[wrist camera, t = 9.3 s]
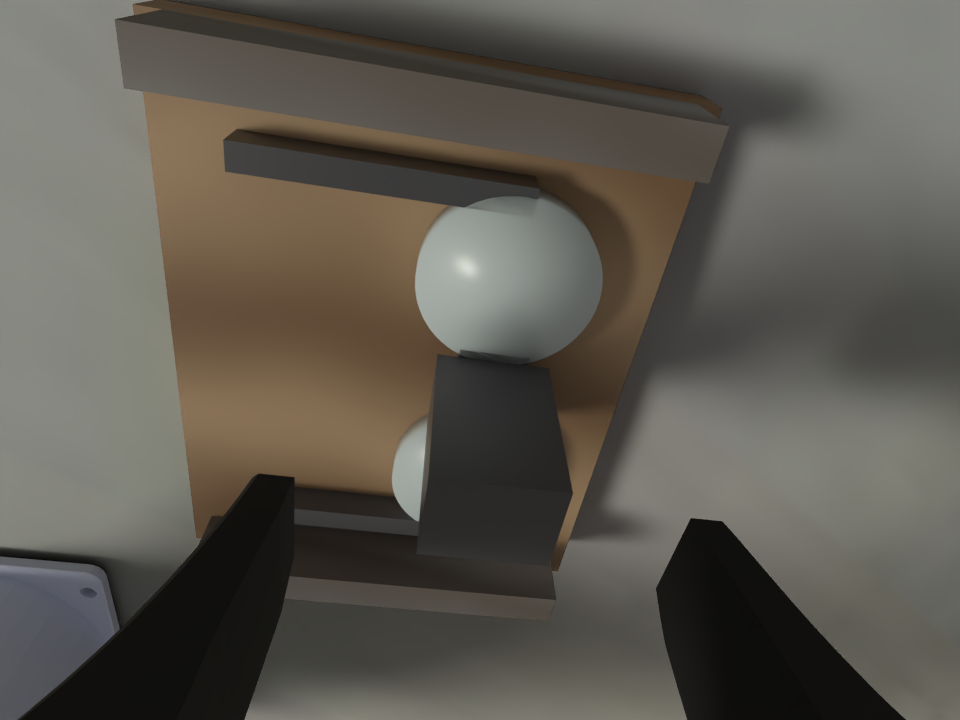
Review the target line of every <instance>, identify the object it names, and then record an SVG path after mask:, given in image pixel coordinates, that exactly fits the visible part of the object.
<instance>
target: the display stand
mask: <svg viewBox="0 0 960 720" xmlns="http://www.w3.org/2000/svg"><path fill="white" fill-rule="evenodd" d="M133 11H134V15H133V16H128V17H124V18H119V19H115V24H116V32H117V39H118V47H119V54H120V61H121V69H122V76H123V84H124V88H126V89H132V90H138V91H143V94H144V103H145V111H146V119H147V128H148V136H149V145H150V153H151V161H152V170H153V178H154V186H155V195H156V203H157V211H158V220H159V228H160V237H161V245H162V253H163V262H164V270H165V278H166V287H167V295H168V303H169V312H170V320H171V329H172V337H173V345H174V354H175V362H176V370H177V379H178V387H179V395H180V404H181V412H182V421H183V429H184V437H185V446H186V454H187V462H188V471H189V479H190V487H191V496H192V504H193V513H194V521H195V529H196V538H201V541H200V543H201V542H202V541H203V540H204V539H205V538H206V537H207V535H208V534H209V533H210V532H211V530H212V529H213V528H214V527H215V526H216V524H217V523H218V522H219V521H220V520H221V518H222V517H223V516H224V515H225V513H226V512H227V511H228V510H229V508H230V507H231V506H232V504H233V503H234V502H235V500H236V499H237V498H238V496H239V495H240V494H241V492H242V491H243V490H244V488H245V487H246V486H247V484H248V483H249V481H250V480H251V479H252V477H254V476H255V475H257V474H259V473H260V474H269V475H279V476H288V477H295V487H300V488H310V489H320V490H330V491H340V492H349V493H359V494H369V495H379V496H389V497H395V494H394V491H393V487H392V473H393V465H394V458H395V452H396V448H397V445H398V442H399V440H400V438H401V437H402V435H403V434H404V432H405V431H406V430H407V429H408V428H409V427H410V426H411V425H412V424H413V423H414V422H415V421H417V420H418V419H420V418H421V417H422V416H424V415H426V414H428V413H429V407H430V400H431V394H432V387H433V380H434V373H435V367H436V360H437V354H440V355H448V356H457V353H456V352H455V351H453V350H451V349H450V348H449V347H447V346H446V345H445V344H443V343H442V342H441V341H440V340H439V339H438V338H437V337H436V336H435V335H434V334H433V332H432V331H431V330H430V328H429V327H428V326H427V324H426V322H425V320H424V319H423V317H422V314H421V312H420V309H419V307H418V303H417V299H416V292H415V274H416V268H417V261H418V256H419V251H420V247H421V244H422V241H423V238H424V236H425V234H426V232H427V230H428V228H429V226H430V225H431V224H432V222H433V221H434V219H435V218H436V217H437V216H438V215H439V214H440V212H441V211H442V210H443V209H444V208H446V207H447V206H448V205H443V204H436V203H430V202H423V201H416V200H410V199H403V198H396V197H390V196H383V195H377V194H370V193H363V192H357V191H350V190H343V189H337V188H330V187H323V186H317V185H310V184H303V183H297V182H290V181H283V180H277V179H270V178H264V177H257V176H250V175H244V174H237V173H230V172H225V164H224V147H223V139H225V138H226V137H227V136H228V135H230V134H231V133H232V132H233V131H235V130H236V129H239V130H245V131H251V132H258V133H264V134H270V135H277V136H283V137H289V138H296V139H302V140H308V141H315V142H321V143H327V144H334V145H340V146H347V147H353V148H359V149H366V150H372V151H378V152H385V153H391V154H397V155H404V156H410V157H416V158H423V159H429V160H435V161H442V162H448V163H455V164H461V165H467V166H474V167H480V168H486V169H493V170H499V171H505V172H512V173H518V174H524V175H531V176H536V178H537V181H538V184H539V188H541V189H543V190H546V191H549V192H550V193H552V194H554V195H556V196H558V197H560V198H561V199H562V200H564V201H565V202H566V203H568V204H569V205H570V206H571V207H572V208H573V209H574V210H575V211H576V212H577V213H578V214H579V215H580V217H581V218H582V219H583V221H584V222H585V224H586V226H587V228H588V229H589V231H590V234H591V236H592V238H593V241H594V243H595V245H596V248H597V250H598V253H599V256H600V260H601V264H602V273H603V284H602V292H601V296H600V301H599V303H598V306H597V309H596V311H595V313H594V315H593V317H592V319H591V320H590V322H589V323H588V325H587V326H586V327H585V329H584V330H583V331H582V332H581V333H580V334H579V335H578V337H577V338H576V339H574V340H573V341H572V342H571V343H570V344H568V345H567V346H566V347H564V348H563V349H561V350H560V351H558V352H556V353H554V354H552V355H550V356H548V357H546V358H543V359H541V360H538V361H534V362H531V363H528V366H535V367H543V368H549V371H550V377H551V382H552V387H553V392H554V397H555V402H556V408H557V413H558V418H559V423H560V428H561V434H562V439H563V444H564V449H565V454H566V459H567V465H568V470H569V475H570V480H571V485H572V490H573V496H572V498H571V501H570V504H569V507H568V510H567V513H566V516H565V519H564V522H563V525H562V528H561V531H560V534H559V537H558V540H557V543H556V546H555V549H554V552H553V555H552V558H551V561H550V564H549V566H541V565H530V564H519V563H508V562H498V561H487V560H476V559H465V558H455V557H444V556H433V555H422V554H416V552H417V540H418V536H413V535H402V534H392V533H381V532H371V531H361V530H350V529H340V528H329V527H319V526H308V525H298V524H294V559H293V563H292V567H291V572H290V576H289V581H288V585H287V590H286V594H285V598H284V599H292V600H303V601H315V602H327V603H338V604H350V605H362V606H373V607H385V608H397V609H409V610H420V611H432V612H444V613H455V614H467V615H479V616H490V617H502V618H514V619H526V620H537V621H549V618H550V615H551V612H552V610H553V607H554V604H555V601H556V596H555V589H554V581H553V574H552V571H557V572H558V569H559V566H560V563H561V560H562V558H563V555H564V552H565V549H566V546H567V543H568V541H569V538H570V535H571V532H572V529H573V527H574V524H575V521H576V518H577V515H578V512H579V510H580V507H581V504H582V501H583V498H584V496H585V493H586V490H587V487H588V484H589V481H590V479H591V476H592V473H593V470H594V467H595V465H596V462H597V459H598V456H599V453H600V450H601V448H602V445H603V442H604V439H605V436H606V434H607V431H608V428H609V425H610V422H611V420H612V417H613V414H614V411H615V408H616V405H617V403H618V400H619V397H620V394H621V391H622V389H623V386H624V383H625V380H626V377H627V374H628V372H629V369H630V366H631V363H632V360H633V358H634V355H635V352H636V349H637V346H638V343H639V341H640V338H641V335H642V332H643V329H644V327H645V324H646V321H647V318H648V315H649V313H650V310H651V307H652V304H653V301H654V298H655V296H656V293H657V290H658V287H659V284H660V282H661V279H662V276H663V273H664V270H665V267H666V265H667V262H668V259H669V256H670V253H671V251H672V248H673V245H674V242H675V239H676V236H677V234H678V231H679V228H680V225H681V222H682V220H683V217H684V214H685V211H686V208H687V205H688V203H689V200H690V197H691V194H692V191H693V189H694V186H695V183H696V182H701V183H707V184H709V182H710V179H711V176H712V174H713V171H714V168H715V166H716V163H717V160H718V157H719V155H720V152H721V149H722V146H723V144H724V141H725V138H726V136H727V133H728V130H729V127H730V126H728V125H727V124H726V123H724V122H723V121H721V120H720V119H718V118H719V115H720V113H721V110H722V108H720V107H719V106H717V105H716V104H714V103H713V102H711V101H710V100H708V99H706V98H705V97H703V96H699V95H694V94H688V93H683V92H677V91H671V90H666V89H660V88H655V87H649V86H643V85H638V84H632V83H627V82H621V81H615V80H610V79H604V78H599V77H593V76H587V75H582V74H576V73H571V72H565V71H559V70H554V69H548V68H543V67H537V66H531V65H526V64H520V63H515V62H509V61H503V60H498V59H492V58H487V57H481V56H475V55H470V54H464V53H459V52H453V51H447V50H442V49H436V48H431V47H425V46H419V45H414V44H408V43H403V42H397V41H391V40H386V39H380V38H375V37H369V36H363V35H358V34H352V33H347V32H341V31H335V30H330V29H324V28H319V27H313V26H307V25H302V24H296V23H291V22H285V21H279V20H274V19H268V18H263V17H257V16H251V15H246V14H240V13H235V12H229V11H223V10H218V9H212V8H207V7H201V6H195V5H190V4H184V3H179V2H173V1H167V0H153V1H148V2H142V3H136V4H133ZM200 543H199V545H200ZM199 545H198V546H199Z"/></svg>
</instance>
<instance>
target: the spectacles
mask: <svg viewBox="0 0 960 720" xmlns="http://www.w3.org/2000/svg"><path fill="white" fill-rule="evenodd" d="M223 147H224V164H225V172H230V173H237V174H244V175H250V176H257V177H264V178H270V179H277V180H283V181H290V182H297V183H303V184H310V185H317V186H323V187H330V188H337V189H343V190H350V191H357V192H363V193H370V194H377V195H383V196H390V197H396V198H403V199H410V200H416V201H423V202H430V203H436V204H443V205H448V206H447V207H446V208H444V209H443V210H442V211H441V212H440V214H439V215H438V216H437V217H436V218H435V219H434V221H433V222H432V224H431V225H430V226H429V228H428V230H427V232H426V234H425V236H424V238H423V241H422V244H421V247H420V251H419V256H418V261H417V268H416V274H415V292H416V299H417V303H418V307H419V309H420V312H421V314H422V317H423V319H424V320H425V322H426V324H427V326H428V327H429V328H430V330H431V331H432V332H433V334H434V335H435V336H436V337H437V338H438V339H439V340H440V341H441V342H442V343H443V344H445V345H446V346H447V347H449V348H450V349H451V350H453V351H455V352H456V353H457V356H448V355H440V354H437V360H436V367H435V373H434V380H433V387H432V394H431V400H430V407H429V413H428V414H426V415H424V416H422V417H421V418H420V419H418V420H417V421H415V422H414V423H413V424H412V425H411V426H410V427H409V428H408V429H407V430H406V431H405V432H404V434H403V435H402V437H401V438H400V440H399V442H398V445H397V448H396V452H395V458H394V465H393V473H392V487H393V491H394V494H395V497H389V496H379V495H369V494H359V493H349V492H340V491H330V490H320V489H310V488H300V487H295V495H294V524H298V525H308V526H319V527H329V528H340V529H350V530H361V531H371V532H381V533H392V534H402V535H413V536H418V540H417V552H416V554H422V555H433V556H444V557H455V558H465V559H476V560H487V561H498V562H508V563H519V564H530V565H541V566H549V564H550V561H551V558H552V555H553V552H554V549H555V546H556V543H557V540H558V537H559V534H560V531H561V528H562V525H563V522H564V519H565V516H566V513H567V510H568V507H569V504H570V501H571V498H572V496H573V490H572V485H571V480H570V475H569V470H568V465H567V459H566V454H565V449H564V444H563V439H562V434H561V428H560V423H559V418H558V413H557V408H556V402H555V397H554V392H553V387H552V382H551V377H550V371H549V368H543V367H535V366H528V363H531V362H534V361H538V360H541V359H543V358H546V357H548V356H550V355H552V354H554V353H556V352H558V351H560V350H561V349H563V348H564V347H566V346H567V345H568V344H570V343H571V342H572V341H573V340H574V339H576V338H577V337H578V335H579V334H580V333H581V332H582V331H583V330H584V329H585V327H586V326H587V325H588V323H589V322H590V320H591V319H592V317H593V315H594V313H595V311H596V309H597V306H598V303H599V301H600V296H601V292H602V284H603V273H602V264H601V260H600V256H599V253H598V250H597V248H596V245H595V243H594V241H593V238H592V236H591V234H590V231H589V229H588V228H587V226H586V224H585V222H584V221H583V219H582V218H581V217H580V215H579V214H578V213H577V212H576V211H575V210H574V209H573V208H572V207H571V206H570V205H569V204H568V203H566V202H565V201H564V200H562V199H561V198H560V197H558V196H556V195H554V194H552V193H550V192H549V191H546V190H543V189H541V188H539V184H538V181H537V178H536V176H531V175H524V174H518V173H512V172H505V171H499V170H493V169H486V168H480V167H474V166H467V165H461V164H455V163H448V162H442V161H435V160H429V159H423V158H416V157H410V156H404V155H397V154H391V153H385V152H378V151H372V150H366V149H359V148H353V147H347V146H340V145H334V144H327V143H321V142H315V141H308V140H302V139H296V138H289V137H283V136H277V135H270V134H264V133H258V132H251V131H245V130H239V129H236V130H235V131H233V132H232V133H231V134H230V135H228V136H227V137H226V138H225V139H223Z"/></svg>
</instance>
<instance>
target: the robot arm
mask: <svg viewBox="0 0 960 720" xmlns="http://www.w3.org/2000/svg"><path fill="white" fill-rule="evenodd" d="M294 495H295V477H288V476H279V475H269V474H260V473H259V474H257V475H255V476H254V477H252V479H251V480H250V481H249V483H248V484H247V486H246V487H245V488H244V490H243V491H242V492H241V494H240V495H239V496H238V498H237V499H236V500H235V502H234V503H233V504H232V506H231V507H230V508H229V510H228V511H227V512H226V513H225V515H224V516H223V517H222V518H221V520H220V521H219V522H218V523H217V524H216V526H215V527H214V528H213V529H212V530H211V532H210V533H209V534H208V535H207V537H206V538H205V539H204V540H203V541H202V542H201V543H200V545H199V546H198V547H197V548H196V549H195V550H194V551H193V553H192V554H191V555H190V556H189V557H188V558H187V559H186V560H185V562H184V563H183V564H182V565H181V566H180V567H179V568H178V570H177V571H176V572H175V573H174V574H173V575H172V576H171V577H170V578H169V579H168V581H167V582H166V583H165V584H164V585H163V586H162V587H161V588H160V589H159V590H158V591H157V592H156V593H155V594H154V595H153V596H152V597H151V598H150V599H149V600H148V601H147V602H146V603H145V604H144V605H143V606H142V607H141V608H140V609H139V610H138V611H137V613H136V614H135V615H134V616H133V617H132V618H131V619H130V620H129V621H128V622H127V623H126V624H125V625H124V626H123V627H121V628H119V624H118V620H117V615H116V611H115V607H114V603H113V599H112V595H111V591H110V587H109V583H108V579H107V575H106V573H105V572H104V571H103V570H102V569H101V568H100V567H97V566H95V565H90V564H80V563H69V562H58V561H46V560H35V559H24V558H12V557H1V556H0V720H244V719H245V716H246V713H247V710H248V707H249V704H250V702H251V699H252V696H253V693H254V690H255V687H256V684H257V681H258V678H259V676H260V673H261V670H262V667H263V664H264V661H265V658H266V655H267V652H268V649H269V647H270V644H271V641H272V638H273V635H274V632H275V629H276V626H277V623H278V620H279V617H280V614H281V611H282V606H283V602H284V598H285V594H286V590H287V585H288V581H289V576H290V572H291V567H292V563H293V559H294ZM656 591H657V598H658V604H659V611H660V618H661V623H662V629H663V634H664V640H665V645H666V648H667V652H668V655H669V659H670V662H671V666H672V669H673V673H674V676H675V680H676V683H677V687H678V690H679V693H680V697H681V700H682V703H683V707H684V710H685V713H686V717H687V720H906V719H904V718H903V717H902V716H901V715H900V714H899V713H898V712H897V711H896V710H895V709H894V708H893V707H891V706H890V705H889V704H888V703H887V702H886V701H885V700H884V699H883V698H882V697H881V696H880V695H879V694H878V693H877V692H876V691H875V690H874V689H873V688H872V687H871V686H870V685H869V684H868V683H867V682H866V681H865V680H864V679H863V678H862V677H861V676H860V675H859V674H858V673H857V672H856V671H855V670H854V669H853V667H852V666H851V665H850V664H849V663H848V662H847V661H846V660H845V659H844V658H843V657H842V656H841V655H840V654H839V653H838V652H837V651H836V650H835V649H834V648H833V647H832V646H831V644H830V643H829V642H828V641H827V640H826V639H825V638H824V637H823V636H822V635H821V634H820V633H819V631H818V630H817V629H816V628H815V627H814V626H813V625H812V624H811V623H810V622H809V620H808V619H807V618H806V617H805V616H804V615H803V614H802V613H801V611H800V610H799V609H798V608H797V607H796V606H795V605H794V604H793V602H792V601H791V600H790V599H789V598H788V597H787V595H786V594H785V593H784V592H783V591H782V590H781V589H780V587H779V586H778V585H777V584H776V583H775V582H774V580H773V579H772V578H771V577H770V576H769V575H768V573H767V572H766V571H765V570H764V569H763V568H762V566H761V565H760V564H759V563H758V562H757V561H756V559H755V558H754V557H753V556H752V555H751V554H750V552H749V551H748V550H747V549H746V548H745V547H744V545H743V544H742V543H741V542H740V541H739V540H738V539H737V537H736V536H735V535H734V534H733V533H732V532H731V531H730V529H729V528H728V527H727V526H726V525H725V524H724V523H723V522H722V521H713V520H703V519H694V518H691V519H690V521H689V523H688V525H687V527H686V529H685V531H684V533H683V535H682V537H681V539H680V541H679V543H678V545H677V547H676V549H675V551H674V553H673V555H672V557H671V559H670V561H669V564H668V566H667V568H666V570H665V572H664V574H663V576H662V578H661V580H660V582H659V584H658V586H657V588H656Z"/></svg>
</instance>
